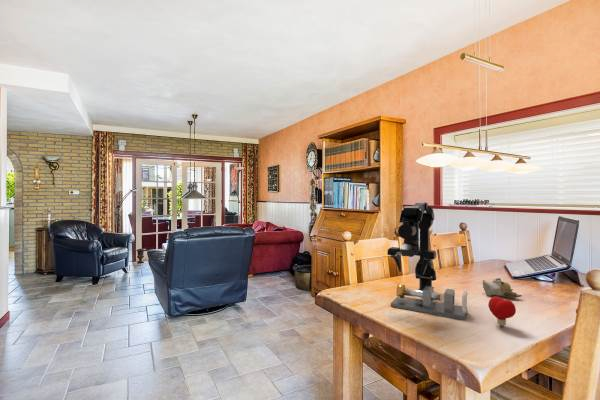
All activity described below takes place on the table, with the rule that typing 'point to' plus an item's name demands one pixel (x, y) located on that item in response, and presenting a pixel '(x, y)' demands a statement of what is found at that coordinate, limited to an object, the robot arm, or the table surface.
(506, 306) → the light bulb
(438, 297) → the shaft
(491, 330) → the table surface
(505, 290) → the ceramic sculpture
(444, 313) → the bearing frame
